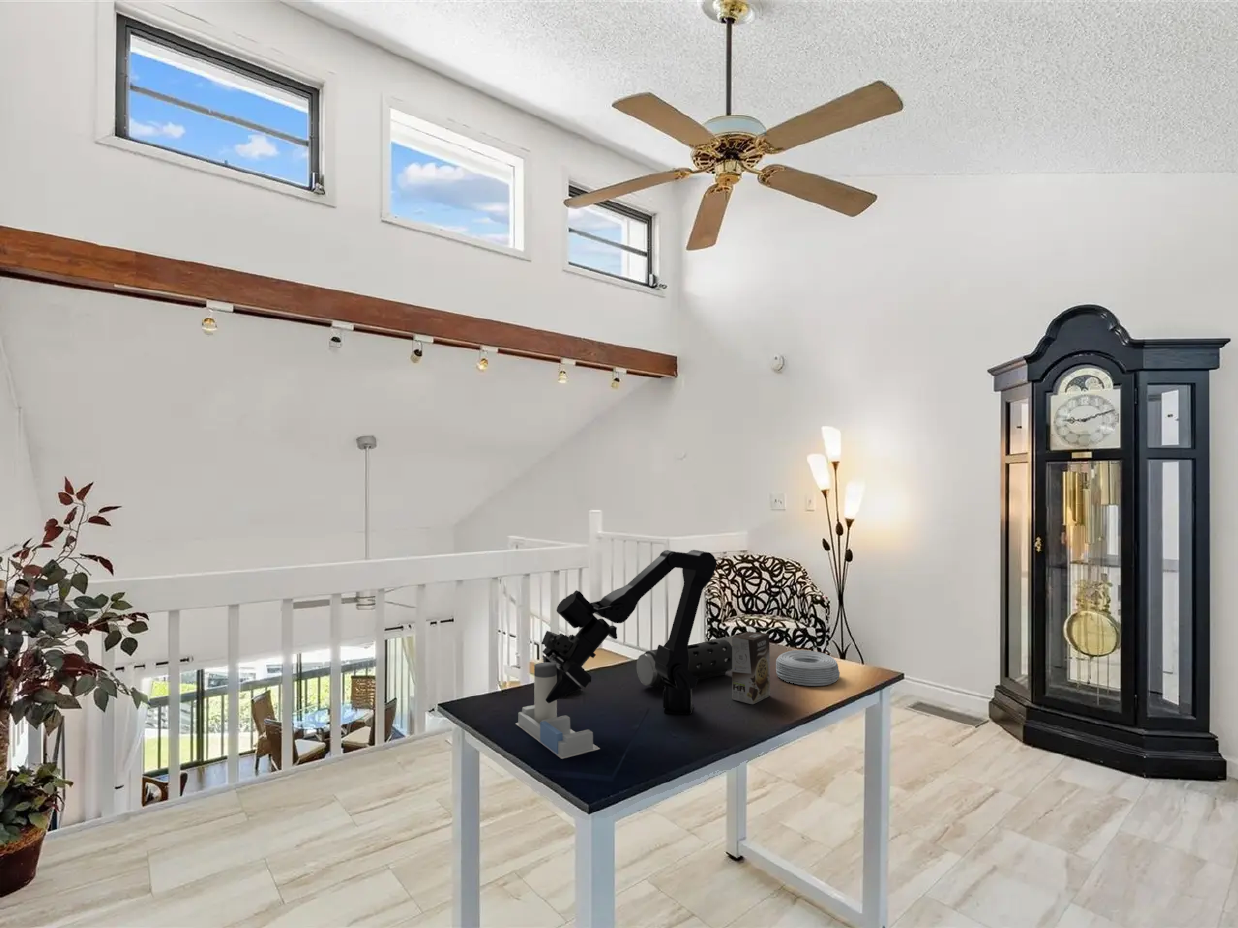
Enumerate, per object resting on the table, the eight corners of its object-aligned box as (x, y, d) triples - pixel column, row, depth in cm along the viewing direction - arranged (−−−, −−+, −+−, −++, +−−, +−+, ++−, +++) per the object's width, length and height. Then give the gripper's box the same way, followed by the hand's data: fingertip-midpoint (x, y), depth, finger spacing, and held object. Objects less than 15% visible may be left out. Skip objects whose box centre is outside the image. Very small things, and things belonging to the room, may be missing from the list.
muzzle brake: (736, 678, 190) (736, 642, 190) (654, 695, 175) (654, 656, 175) (714, 670, 198) (714, 635, 198) (634, 686, 183) (634, 648, 184)
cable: (806, 666, 202) (806, 646, 202) (853, 681, 187) (853, 659, 187) (763, 675, 193) (762, 654, 193) (809, 692, 178) (808, 669, 178)
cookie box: (753, 705, 167) (753, 640, 168) (731, 699, 171) (730, 636, 172) (771, 695, 174) (770, 633, 175) (749, 690, 178) (748, 629, 179)
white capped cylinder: (559, 724, 152) (559, 662, 153) (552, 733, 147) (552, 669, 148) (538, 723, 153) (538, 661, 154) (531, 731, 148) (531, 667, 149)
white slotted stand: (550, 719, 158) (550, 698, 158) (600, 752, 139) (600, 729, 139) (515, 726, 153) (515, 705, 154) (561, 762, 134) (561, 738, 134)
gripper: (550, 610, 161) (505, 662, 156) (577, 626, 144) (527, 684, 139) (581, 640, 164) (538, 692, 159) (611, 659, 147) (563, 717, 142)
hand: (540, 695), depth 150 cm, fingers open, 9 cm apart
